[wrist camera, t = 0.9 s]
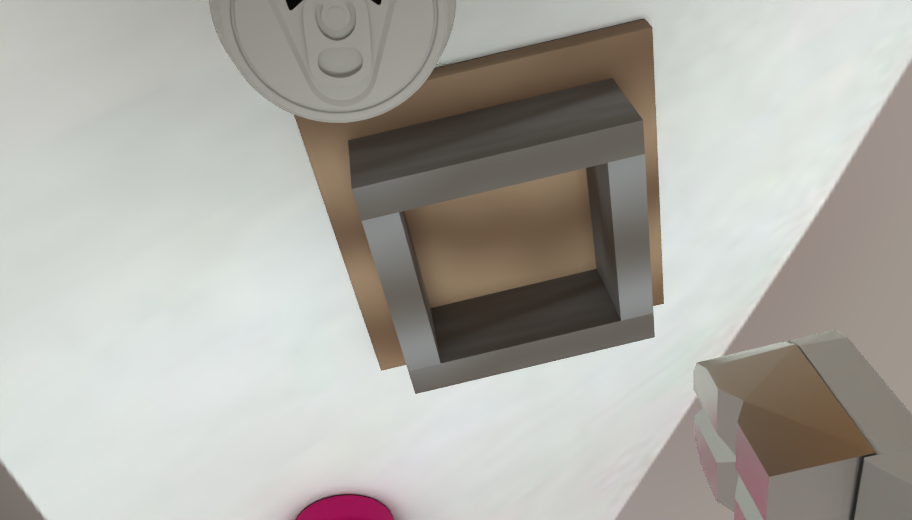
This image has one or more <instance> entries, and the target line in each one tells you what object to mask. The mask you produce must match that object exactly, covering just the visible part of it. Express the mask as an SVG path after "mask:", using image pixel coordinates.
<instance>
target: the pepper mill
mask: <svg viewBox="0 0 912 520" xmlns="http://www.w3.org/2000/svg"><path fill="white" fill-rule="evenodd" d="M296 520H394V519H393V516H392V514H391V513H390V511H389V510H388V509H387V508H386V506H384V505H383V504H381V503H379V502H378V501H376V500H374V499H371V498H368V497H364V496H356V495H341V496H334V497H330V498H326V499H322V500H320V501H318V502H316V503H314V504H312V505H310V506H309V507H307V508H306V509H305V510H304V511H303V512H301V513H300V515H299V516H298V517H297V519H296Z"/></svg>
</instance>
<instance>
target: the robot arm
mask: <svg viewBox="0 0 912 520" xmlns="http://www.w3.org/2000/svg"><path fill="white" fill-rule="evenodd" d="M694 391H695V393H696V395H697V397H698V398H699V400H700V402H701V404H702V406H703V407H702V408H701V409H700V411H699V412H698V413H697V415H696V416H695V417H694V425H695V440H696V445H697V449H698V453H699V458H700V462H701V465H702V468H703V471H704V473H705V476H706V479H707V481H708V483H709V486H710V488H711V490H712V492H713V494H714V496H715V498H716V500H717V502H719V503H721V504H722V505H724V506H726V507H727V508H729V509H731V510H732V511H734V515H735V516H734V520H912V414H911V413H910V411H909V410H908V409H907V408H906V407H905V405H904V404H903V403H902V402H901V401H900V400H899V398H898V397H897V396H896V395H895V394H894V392H893V391H892V390H891V389H890V388H889V386H888V385H887V384H886V383H885V382H884V380H883V379H882V378H881V377H880V376H879V374H878V373H877V372H876V371H875V370H874V368H873V367H872V366H871V365H870V364H869V363H868V361H867V360H866V359H865V358H864V356H863V355H861V353H860V352H859V351H858V349H857V348H856V347H855V346H854V345H853V343H852V342H851V341H850V340H849V339H848V337H847V336H846V335H845V334H843V333H841V332H839V331H837V330H831V331H827V332H823V333H819V334H814V335H810V336H806V337H802V338H798V339H794V340H790V341H788V342H781V343H776V344H772V345H768V346H764V347H760V348H756V349H751V350H747V351H743V352H739V353H735V354H731V355H727V356H723V357H719V358H715V359H710V360H706V361H702V362H698V363H696V366H695V369H694Z"/></svg>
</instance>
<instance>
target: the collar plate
mask: <svg viewBox="0 0 912 520" xmlns="http://www.w3.org/2000/svg"><path fill="white" fill-rule="evenodd" d="M294 116H295V119H296V122H297V124H298V127H299V130H300V133H301V136H302V139H303V142H304V145H305V148H306V151H307V154H308V157H309V160H310V163H311V166H312V169H313V171H314V174H315V177H316V180H317V183H318V186H319V189H320V192H321V195H322V198H323V201H324V204H325V207H326V210H327V213H328V216H329V218H330V221H331V224H332V227H333V230H334V233H335V236H336V239H337V242H338V245H339V248H340V251H341V254H342V257H343V260H344V263H345V265H346V268H347V271H348V274H349V277H350V280H351V283H352V286H353V289H354V292H355V295H356V298H357V301H358V304H359V307H360V309H361V312H362V315H363V318H364V321H365V324H366V327H367V330H368V333H369V336H370V339H371V342H372V345H373V348H374V351H375V354H376V356H377V359H378V362H379V365H380V368H381V371H382V370H386V369H390V368H394V367H398V366H403V365H407V368H408V371H409V375H410V378H411V381H412V384H413V387H414V391H415V394H417V393H421V392H426V391H430V390H434V389H438V388H442V387H447V386H451V385H455V384H459V383H463V382H468V381H472V380H476V379H480V378H484V377H489V376H493V375H497V374H501V373H506V372H510V371H514V370H518V369H522V368H527V367H531V366H535V365H539V364H543V363H548V362H552V361H556V360H560V359H564V358H569V357H573V356H577V355H581V354H586V353H590V352H594V351H598V350H602V349H607V348H611V347H615V346H619V345H623V344H628V343H632V342H636V341H640V340H644V339H649V338H653V337H655V336H654V317H653V306H655V305H660V304H664V297H663V273H662V249H661V225H660V201H659V177H658V153H657V129H656V106H655V82H654V58H653V34H652V27H651V25H650V24H649V23H648V22H647V21H646V20H645V19H642V20H637V21H633V22H629V23H625V24H620V25H616V26H612V27H608V28H604V29H599V30H595V31H591V32H587V33H582V34H578V35H574V36H570V37H565V38H561V39H557V40H553V41H549V42H544V43H540V44H536V45H532V46H527V47H523V48H519V49H515V50H511V51H506V52H502V53H498V54H494V55H489V56H485V57H481V58H477V59H472V60H468V61H464V62H460V63H456V64H451V65H447V66H443V67H439V68H434V69H433V71H432V72H431V74H430V76H429V77H428V78H427V80H426V81H425V82H424V83H423V85H422V86H421V87H420V88H419V89H418V90H417V91H416V92H415V93H414V94H413V95H412V96H410V97H409V98H408V99H407V100H406V101H404V102H403V103H401V104H400V105H398V106H397V107H395V108H393V109H391V110H389V111H387V112H385V113H383V114H381V115H378V116H375V117H372V118H369V119H366V120H361V121H355V122H347V123H329V122H321V121H315V120H310V119H307V118H303V117H300V116H297V115H295V114H294Z"/></svg>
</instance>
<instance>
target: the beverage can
mask: <svg viewBox="0 0 912 520" xmlns="http://www.w3.org/2000/svg"><path fill="white" fill-rule="evenodd" d="M209 6H210V12H211V16H212V19H213V23H214V26H215V29H216V32H217V34H218V36H219V39H220V41H221V43H222V45H223V47H224V48H225V50H226V52H227V54H228V55H229V57H230V58H231V60H232V61H233V62H234V64H235V65H236V66H237V68H238V70H239V71H240V73H241V74H242V75H243V76H244V78H245V79H246V80H247V81H248V82H249V84H250V85H251V86H252V87H253V88H254V89H255V90H256V91H257V92H259V93H260V94H261V95H262V96H263V97H265V98H266V99H267V100H269V101H270V102H272V103H273V104H275V105H276V106H278V107H280V108H282V109H283V110H286V111H288V112H290V113H292V114H295V115H297V116H300V117H303V118H307V119H310V120H315V121H321V122H329V123H347V122H355V121H361V120H366V119H369V118H372V117H375V116H378V115H381V114H383V113H385V112H387V111H389V110H391V109H393V108H395V107H397V106H398V105H400V104H401V103H403V102H404V101H406V100H407V99H408V98H409V97H410V96H412V95H413V94H414V93H415V92H416V91H417V90H418V89H419V88H420V87H421V86H422V85H423V83H424V82H425V81H426V80H427V78H428V77H429V76H430V74H431V72H432V71H433V69H434V68H435V66H436V64H437V62H438V60H439V58H440V56H441V54H442V52H443V50H444V48H445V46H446V44H447V42H448V39H449V36H450V33H451V30H452V26H453V21H454V16H455V8H456V0H209Z"/></svg>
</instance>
